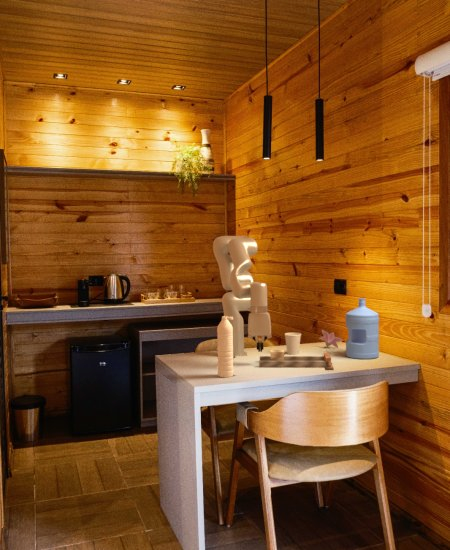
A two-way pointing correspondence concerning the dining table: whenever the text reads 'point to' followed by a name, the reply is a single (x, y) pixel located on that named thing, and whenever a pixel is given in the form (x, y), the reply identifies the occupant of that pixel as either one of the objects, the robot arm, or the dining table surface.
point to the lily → (330, 339)
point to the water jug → (362, 332)
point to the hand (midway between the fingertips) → (260, 351)
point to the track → (298, 362)
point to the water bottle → (225, 347)
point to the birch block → (277, 355)
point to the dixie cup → (292, 343)
